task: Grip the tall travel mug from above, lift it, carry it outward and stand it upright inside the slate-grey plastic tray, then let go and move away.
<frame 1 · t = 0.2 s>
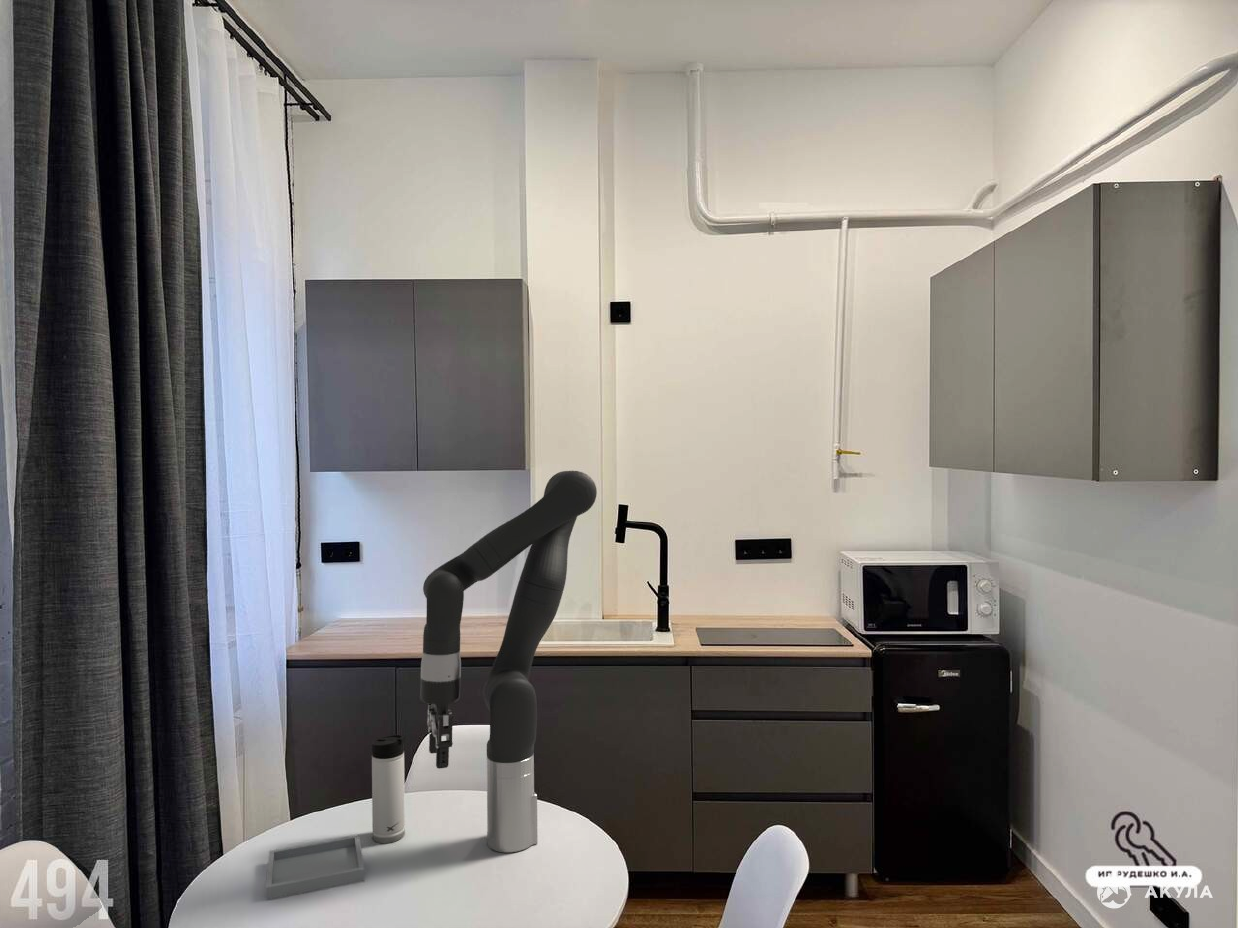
hand: (438, 759, 150), 18 cm above the table, tool pointing down, fingers open, 8 cm apart
travel mug: (389, 837, 158), on the table
tray: (315, 871, 144), on the table
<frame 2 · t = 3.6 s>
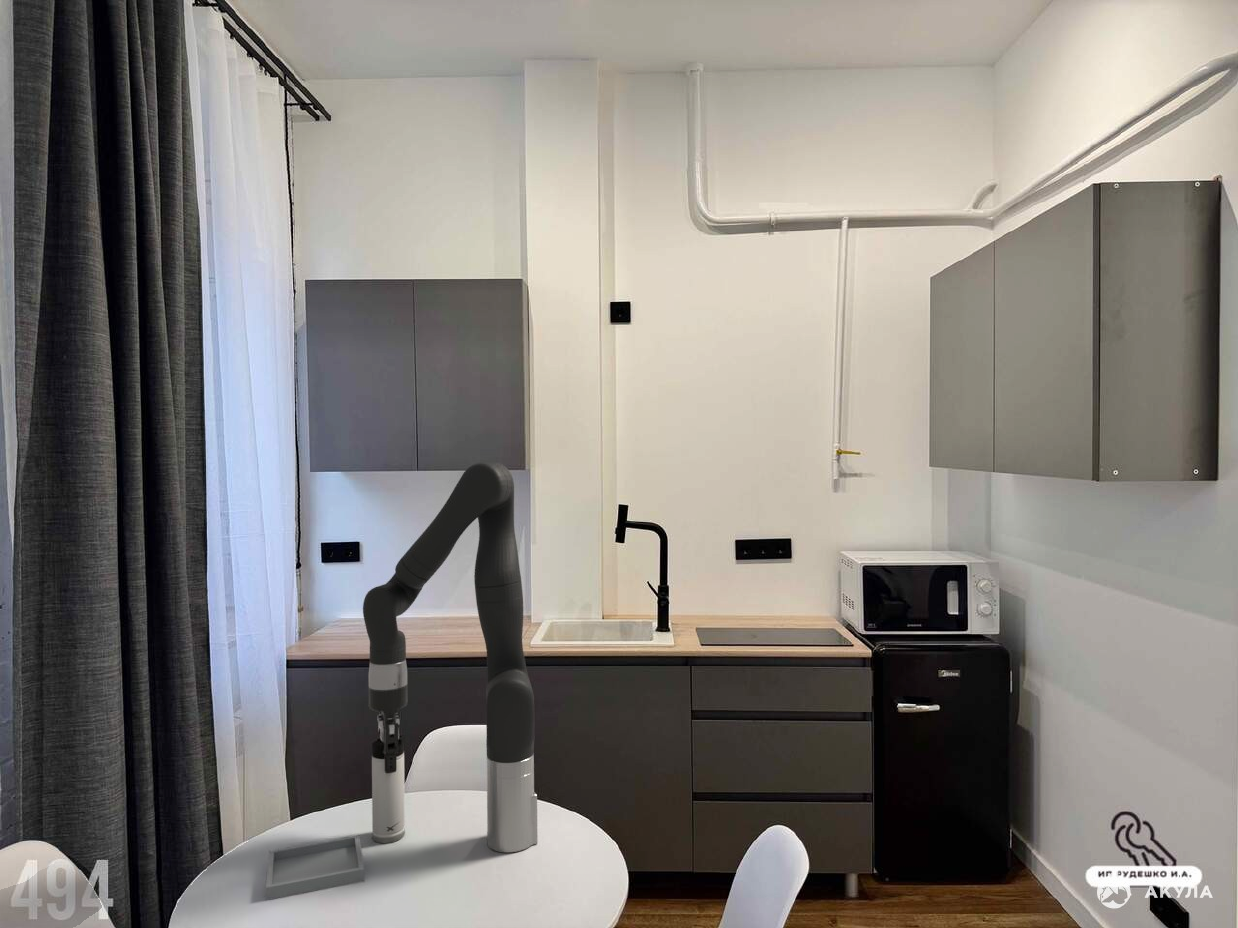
hand: (388, 765, 158), 14 cm above the table, tool pointing down, fingers closed on travel mug, 6 cm apart
travel mug: (389, 837, 158), on the table, touching gripper
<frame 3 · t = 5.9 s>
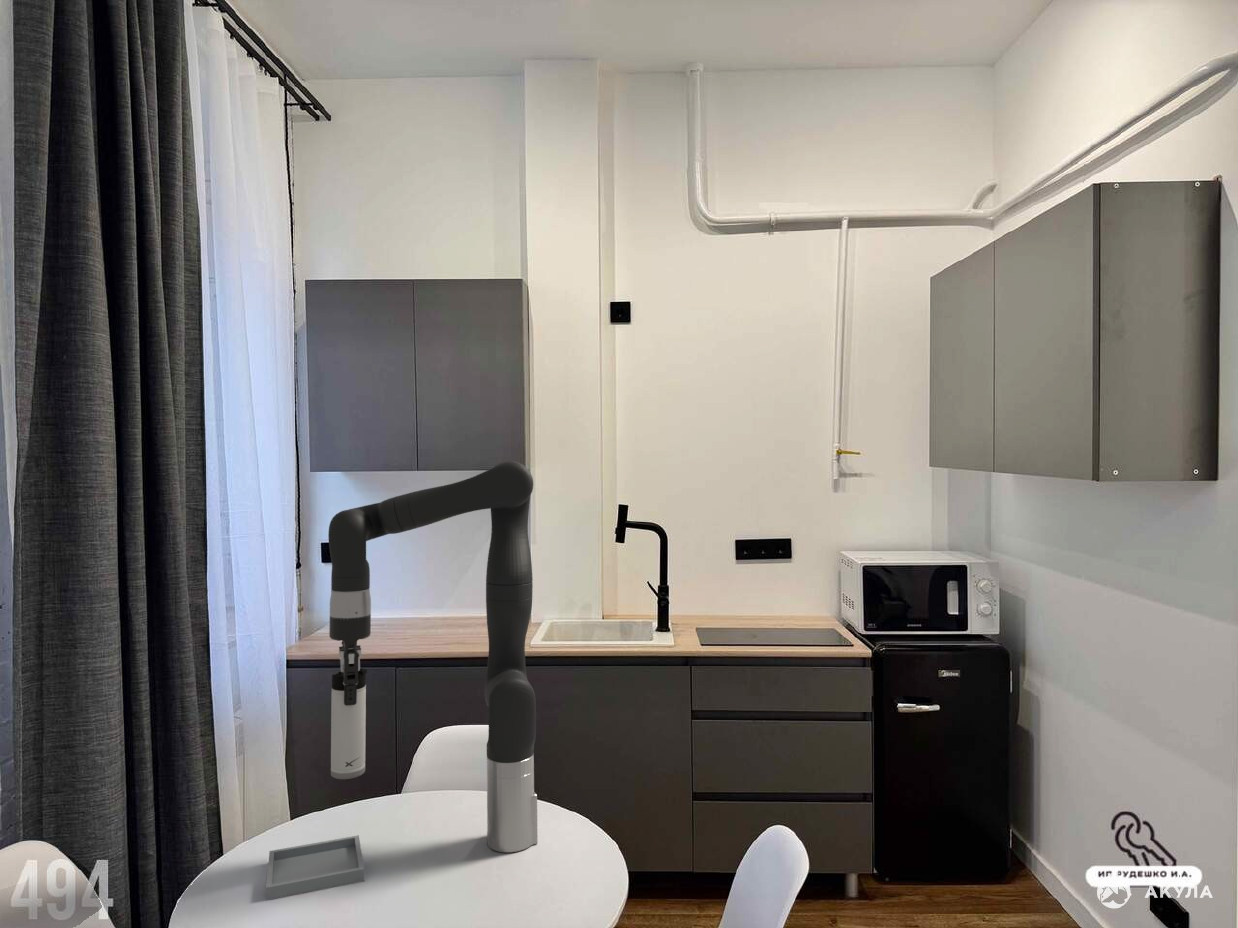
hand: (349, 699, 151), 30 cm above the table, tool pointing down, fingers closed on travel mug, 6 cm apart
travel mug: (348, 774, 150), point 15 cm above the table, touching gripper
when the fingers open (16 cm above the table, at t = 8.7 s): travel mug drops 1 cm, resting on tray.
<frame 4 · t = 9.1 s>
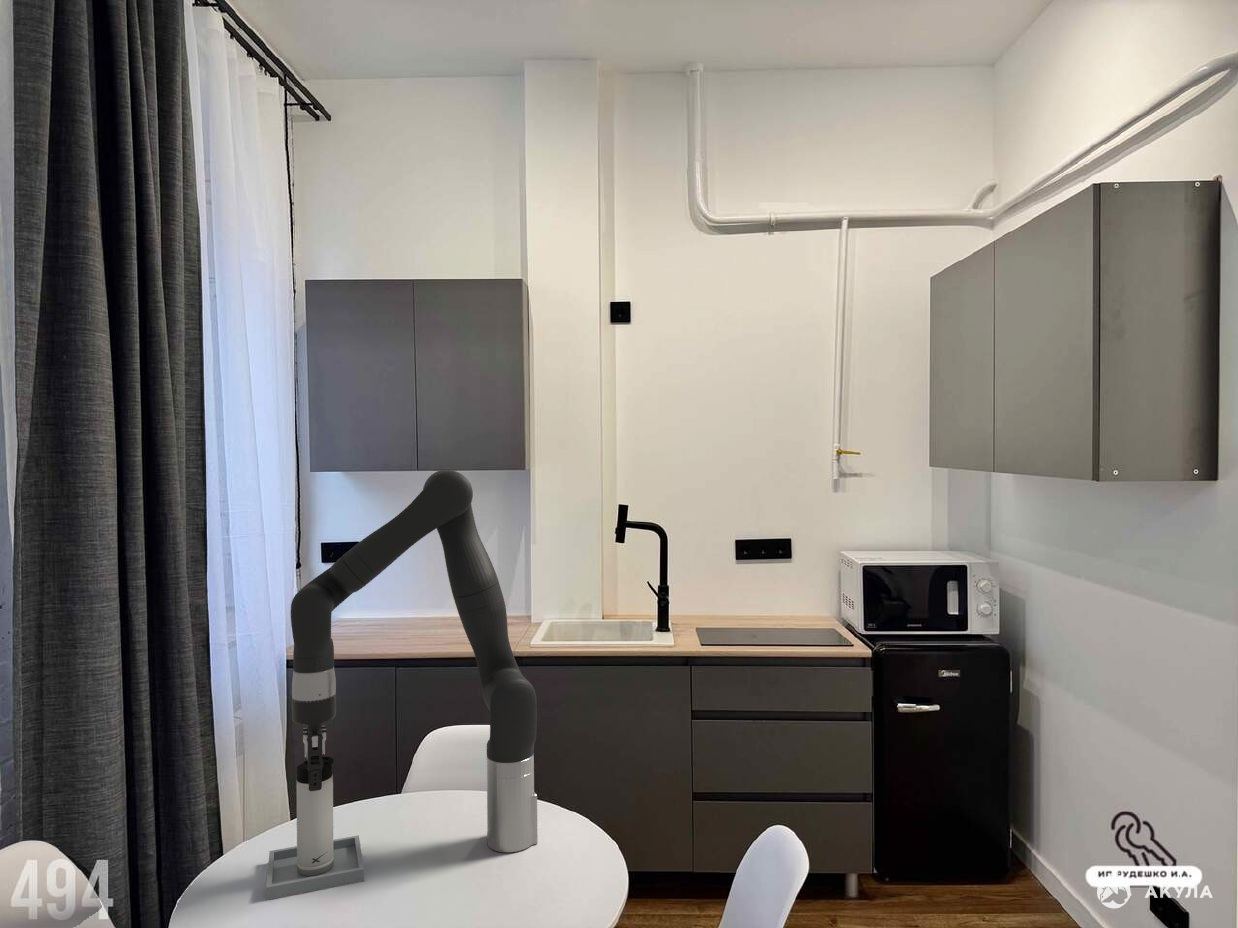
hand: (314, 781, 144), 17 cm above the table, tool pointing down, fingers open, 8 cm apart
travel mug: (316, 868, 144), resting on tray
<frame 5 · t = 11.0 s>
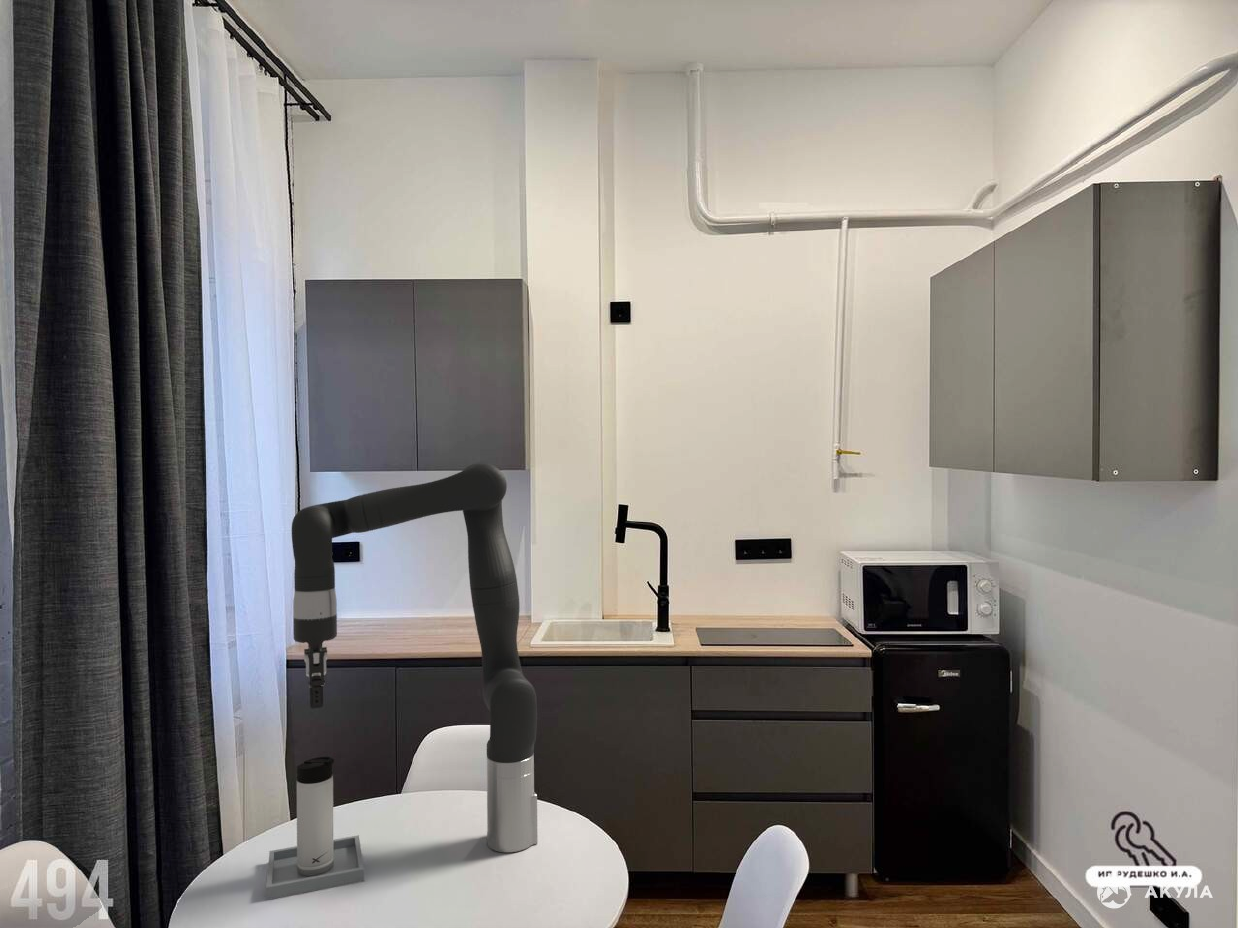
hand: (316, 701, 145), 31 cm above the table, tool pointing down, fingers open, 8 cm apart
nothing on the table moved.
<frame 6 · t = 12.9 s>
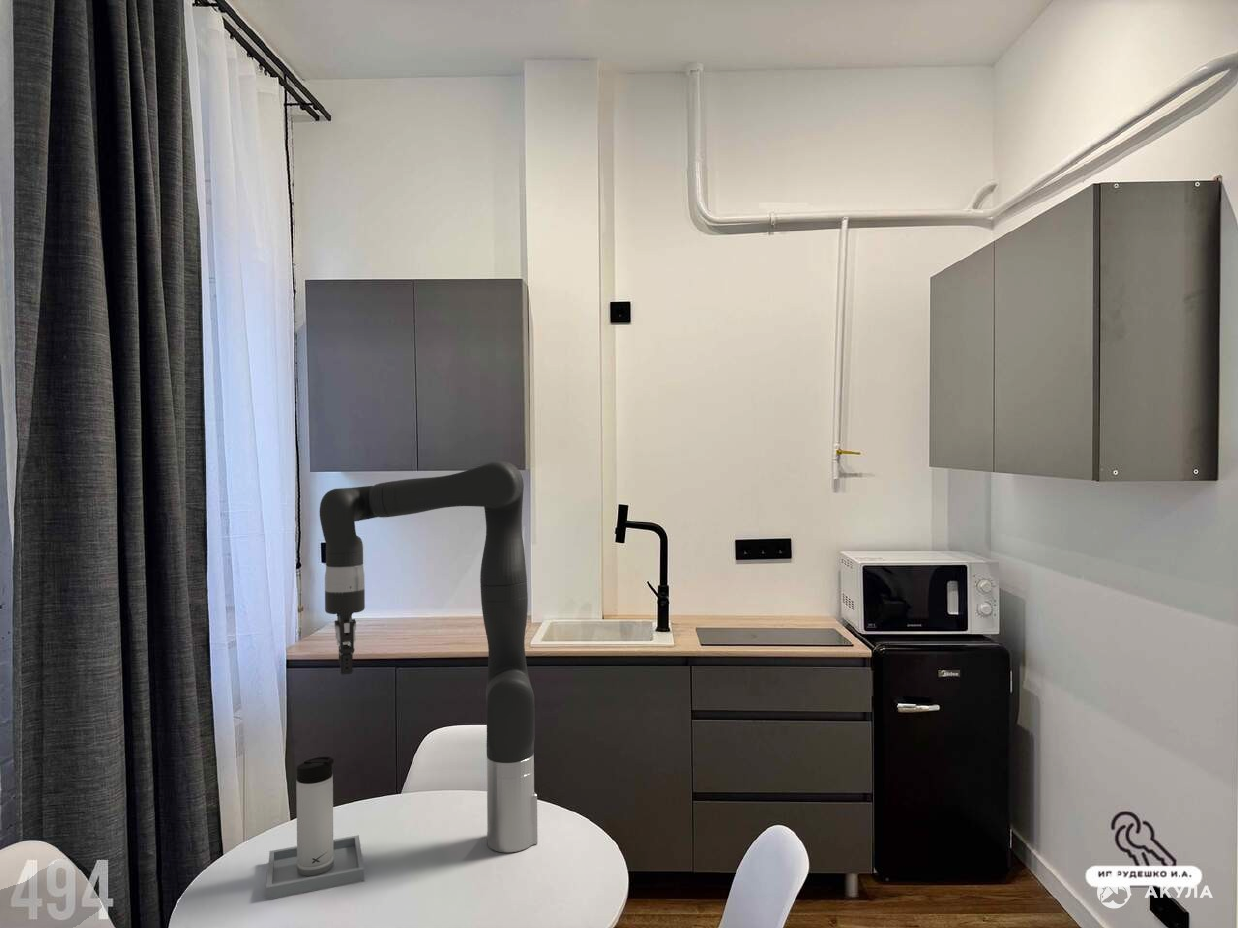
hand: (345, 668, 157), 34 cm above the table, tool pointing down, fingers open, 8 cm apart
nothing on the table moved.
at the end: travel mug inside the target area on the tray (0.1 cm from its centre), point 0.4 cm above the tray's base; travel mug tilted 0°; the gripper is holding nothing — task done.
